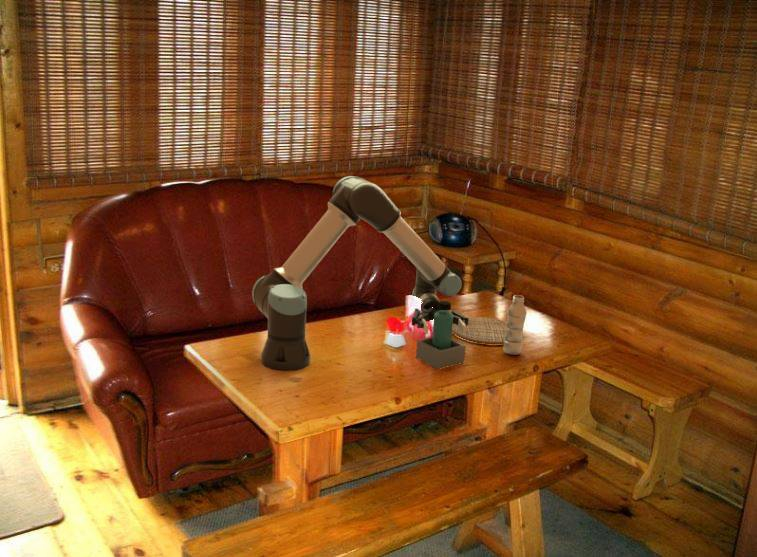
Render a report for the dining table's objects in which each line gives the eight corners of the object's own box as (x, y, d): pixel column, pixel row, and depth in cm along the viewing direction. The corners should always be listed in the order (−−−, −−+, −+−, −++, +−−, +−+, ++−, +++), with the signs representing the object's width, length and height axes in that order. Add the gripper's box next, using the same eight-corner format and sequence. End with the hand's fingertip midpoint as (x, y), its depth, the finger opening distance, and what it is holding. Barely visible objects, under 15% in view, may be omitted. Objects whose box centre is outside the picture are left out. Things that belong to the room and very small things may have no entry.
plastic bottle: (499, 354, 273) (505, 297, 267) (506, 348, 279) (512, 292, 273) (517, 358, 270) (524, 301, 264) (524, 352, 276) (531, 296, 270)
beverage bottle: (451, 358, 267) (457, 300, 261) (447, 365, 260) (453, 306, 255) (432, 355, 268) (437, 297, 262) (427, 362, 262) (432, 303, 256)
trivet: (448, 319, 304) (449, 314, 304) (516, 324, 304) (516, 319, 303) (452, 343, 280) (452, 338, 280) (524, 349, 280) (525, 344, 279)
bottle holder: (416, 357, 265) (417, 340, 263) (441, 351, 272) (443, 334, 270) (438, 369, 257) (439, 351, 255) (463, 363, 263) (465, 345, 262)
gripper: (463, 318, 281) (481, 341, 260) (395, 317, 277) (407, 340, 256) (465, 297, 279) (483, 318, 258) (397, 296, 275) (409, 318, 254)
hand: (445, 329), depth 257 cm, fingers open, 11 cm apart
